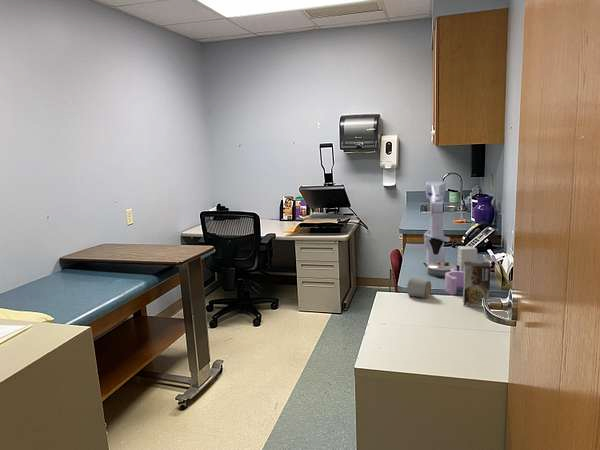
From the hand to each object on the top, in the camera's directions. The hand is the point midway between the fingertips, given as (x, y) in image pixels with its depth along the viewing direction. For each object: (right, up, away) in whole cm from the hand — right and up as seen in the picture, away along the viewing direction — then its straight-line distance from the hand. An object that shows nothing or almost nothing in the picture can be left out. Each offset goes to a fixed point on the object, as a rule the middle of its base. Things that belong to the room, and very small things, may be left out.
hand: (436, 254), depth 210 cm
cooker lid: (+3, -6, -1) cm, 7 cm away
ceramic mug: (-17, -15, -33) cm, 40 cm away
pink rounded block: (+3, -14, -24) cm, 28 cm away
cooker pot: (+3, -10, 0) cm, 10 cm away
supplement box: (+16, -9, +3) cm, 19 cm away
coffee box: (+1, -16, -45) cm, 48 cm away
